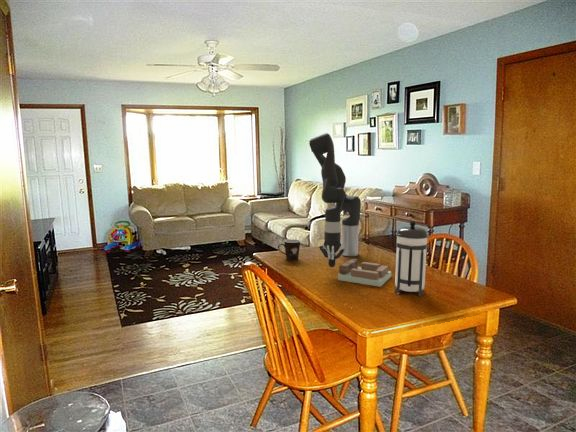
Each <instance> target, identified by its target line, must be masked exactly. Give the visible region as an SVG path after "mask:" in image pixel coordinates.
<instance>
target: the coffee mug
mask: <svg viewBox="0 0 576 432" xmlns="http://www.w3.org/2000/svg"><path fill="white" fill-rule="evenodd" d="M281 246H283V247H284V250H285V252H283V251H282V250H281V249H280V247H281ZM300 247H301V240H300V239H293V238H289V239H285V240H284V243H280V244H279V245H278V246H277V250H278V251H279V252H280V253H282V254H284V256H285V259H286V260H287V261H290V262H291V261H298V260H299V254H300Z"/></svg>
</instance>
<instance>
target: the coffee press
mask: <svg viewBox="0 0 576 432" xmlns="http://www.w3.org/2000/svg"><path fill="white" fill-rule="evenodd" d="M409 225H410V226H409ZM409 225H408V226H401V227H400V228H399V229H397V231H396V233H395V235H396V242H395V243H396V244H395V247H396V253H395V254H396V255H395V274H394V275H395V276H394V277H395V278H394V279H395V281H394V285H395V286H394V287H396V288H395V290H394V294H396V295H399V294H401V293H402V291H403V292H409V293H412V292H413V293H414V292H415V293H417V295H418V296H419V297H423V296H424V294H425V293H424V291H423V290H424V289H425V286H426V285H425V284H426V283H425V282H426V269H427V252H428V251H427V250H428V238H429V234H428V231H427V230H426V229H425V228H423V227H419V226H416V222H415V221H413V220H412V221H410V222H409Z"/></svg>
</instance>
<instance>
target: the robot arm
mask: <svg viewBox="0 0 576 432" xmlns="http://www.w3.org/2000/svg"><path fill="white" fill-rule="evenodd" d="M308 142H309V143H308V144H309V148H310V150H311V152H312V153H313V155H314V157H315V158H316V160H317V163H318V164H319V165H320V167H321V171H320V175H321V178H322V179H321V180H322V191H321V200H322V201H323V202H324V203H326V204H334V206H332V207H328V208H325V215H324V216H325V217H324V221H325V222H324V237H323V239H324V242H323V244H322V245H321V246H319V247H318V248H319V250H320V251H321V253H322V255H323V256H324V257H325V258H327V259H328V266H329V267H330V268H335V266H336V260H338V259H339V258H340V257H341V256H344V257H356V256H358V254H359V227H360V226H359V223H360V219H361V210H362V209H361V207H362V202H361V201H362V200H361V199H360V197H359V196H356V195H348V194H347V193H346V192H345V185H346V182H347V181H346V179H347V177H346V175H345V173H344V170H343V168H342V167H341V165H339V164H337V163H336V159H335V157H336V156H335V147H334V146H335V145H334V142H333V139H332V136H331V135H330V133H327V132H326V133H325V132H324V133H322V134H320V135H318V136H317V135H316V136H315V137H311V139H309V141H308ZM324 154H326V156H325V155H324ZM342 212H344V213H349V216H348V217H345V218H343V219H341V218H342V217H341V216H342V215H341V214H342Z"/></svg>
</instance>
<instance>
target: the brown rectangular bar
mask: <svg viewBox="0 0 576 432" xmlns="http://www.w3.org/2000/svg"><path fill="white" fill-rule="evenodd" d="M357 267H359V259H358V258H351V259H350V260H348V261H346V262H344V263H342V264H340V265H339V269H338V274H340V273H342V274H346V273H348V272H350V271H351V269H353V268H357Z"/></svg>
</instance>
